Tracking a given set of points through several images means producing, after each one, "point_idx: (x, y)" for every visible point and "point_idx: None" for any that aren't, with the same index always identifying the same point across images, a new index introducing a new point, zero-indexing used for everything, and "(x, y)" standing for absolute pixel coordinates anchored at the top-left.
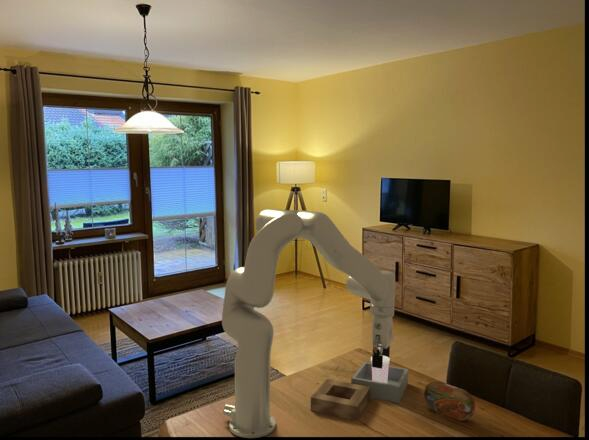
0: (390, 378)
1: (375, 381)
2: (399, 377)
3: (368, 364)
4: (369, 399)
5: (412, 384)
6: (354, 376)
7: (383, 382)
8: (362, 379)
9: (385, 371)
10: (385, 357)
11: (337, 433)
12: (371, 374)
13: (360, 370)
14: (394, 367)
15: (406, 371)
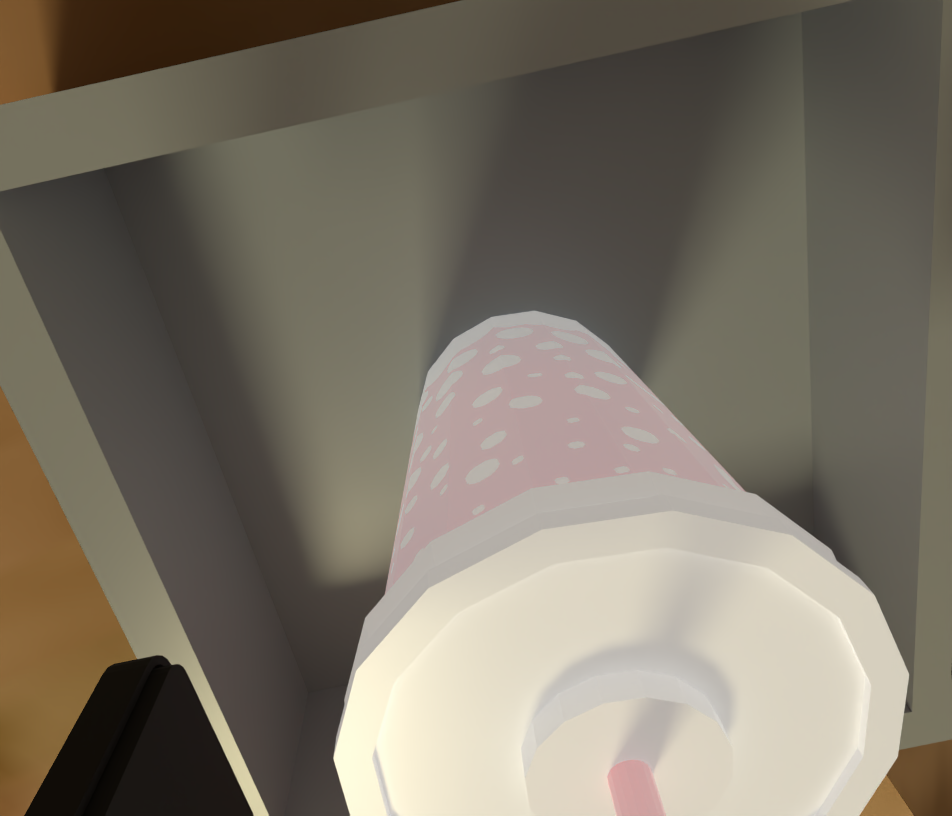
0: (191, 397)
1: (937, 420)
2: (116, 268)
3: (270, 798)
4: None
5: (14, 39)
6: None
7: (616, 361)
8: (940, 611)
9: (658, 419)
10: (417, 696)
11: None
12: (283, 645)
13: None
14: (70, 428)
15: (55, 111)
